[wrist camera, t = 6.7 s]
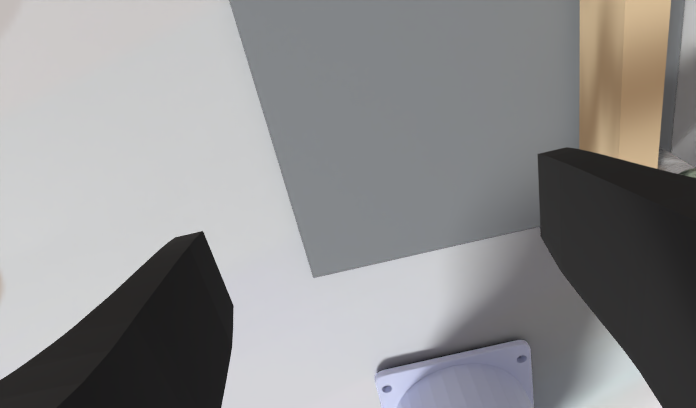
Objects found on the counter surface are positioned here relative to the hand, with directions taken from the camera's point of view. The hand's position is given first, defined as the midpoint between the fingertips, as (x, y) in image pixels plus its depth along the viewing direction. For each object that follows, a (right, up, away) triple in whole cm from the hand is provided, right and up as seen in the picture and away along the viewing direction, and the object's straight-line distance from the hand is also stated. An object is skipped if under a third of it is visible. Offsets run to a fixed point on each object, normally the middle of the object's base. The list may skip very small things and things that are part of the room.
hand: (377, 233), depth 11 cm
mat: (+4, +6, +9) cm, 11 cm away
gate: (+9, +5, +8) cm, 13 cm away
